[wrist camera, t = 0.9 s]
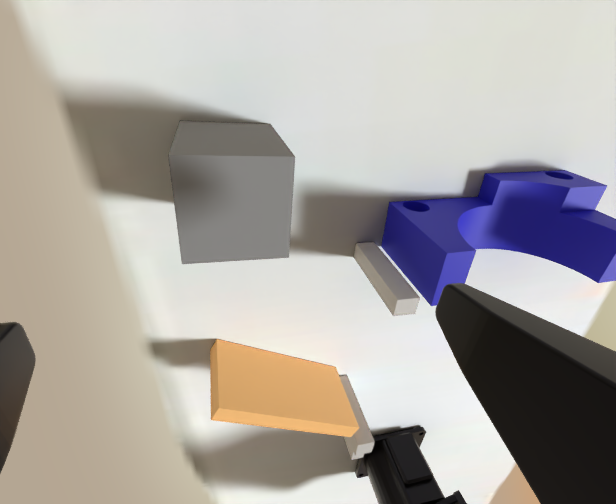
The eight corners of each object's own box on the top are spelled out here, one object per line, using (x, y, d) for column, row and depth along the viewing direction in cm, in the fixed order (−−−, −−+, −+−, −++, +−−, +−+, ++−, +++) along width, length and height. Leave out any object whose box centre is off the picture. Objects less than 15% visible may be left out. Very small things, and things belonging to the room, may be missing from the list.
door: (335, 367, 26) (359, 428, 22) (322, 383, 27) (343, 445, 23) (216, 338, 22) (218, 408, 18) (204, 359, 23) (204, 430, 18)
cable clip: (562, 169, 22) (665, 206, 17) (535, 231, 24) (618, 280, 19) (392, 175, 19) (456, 222, 14) (379, 245, 22) (431, 306, 17)
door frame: (342, 396, 29) (367, 464, 24) (328, 399, 28) (351, 467, 24) (374, 242, 21) (420, 297, 17) (356, 243, 21) (397, 300, 16)
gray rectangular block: (268, 203, 18) (288, 257, 14) (188, 204, 17) (182, 263, 13) (270, 123, 16) (295, 156, 12) (179, 120, 15) (168, 154, 11)
